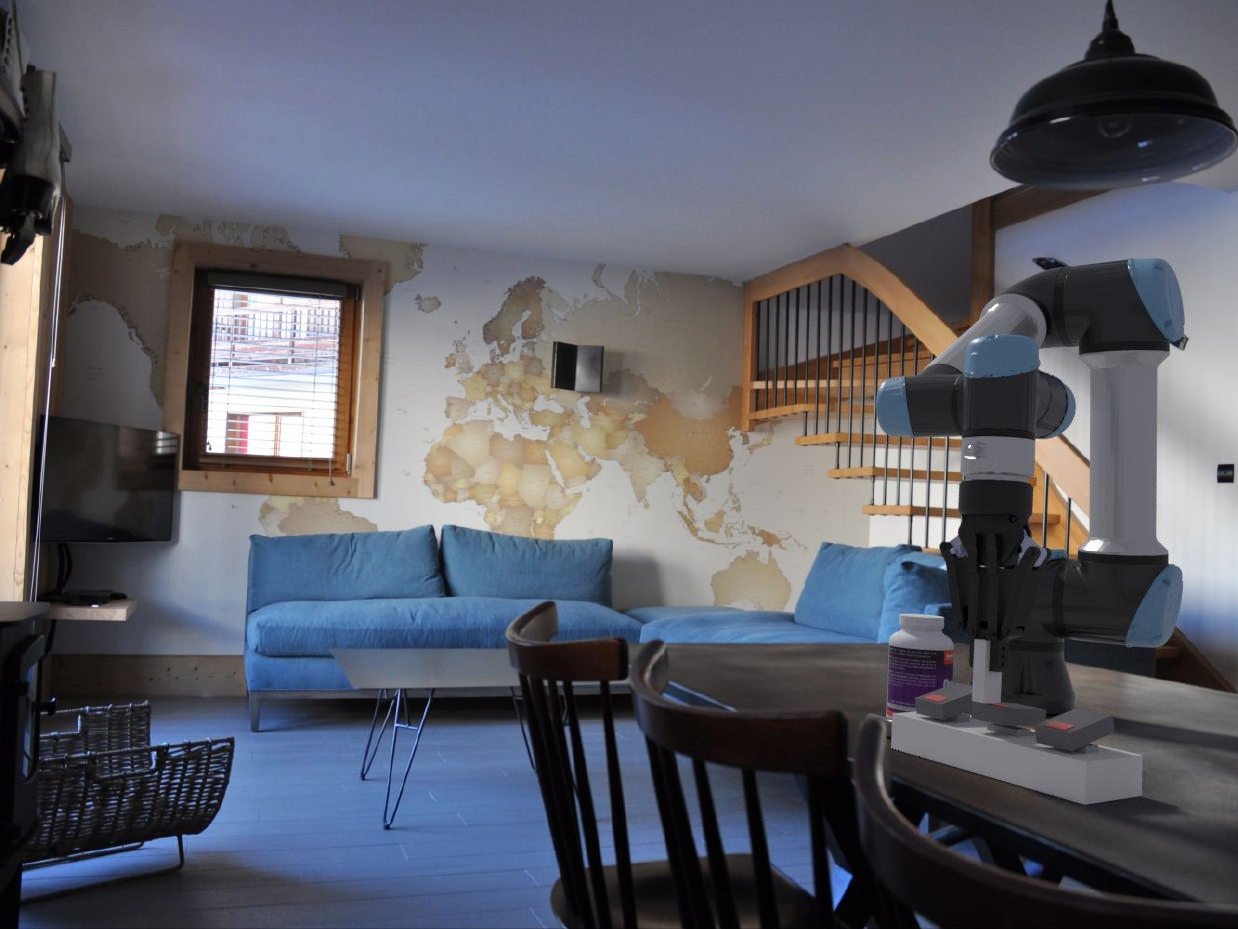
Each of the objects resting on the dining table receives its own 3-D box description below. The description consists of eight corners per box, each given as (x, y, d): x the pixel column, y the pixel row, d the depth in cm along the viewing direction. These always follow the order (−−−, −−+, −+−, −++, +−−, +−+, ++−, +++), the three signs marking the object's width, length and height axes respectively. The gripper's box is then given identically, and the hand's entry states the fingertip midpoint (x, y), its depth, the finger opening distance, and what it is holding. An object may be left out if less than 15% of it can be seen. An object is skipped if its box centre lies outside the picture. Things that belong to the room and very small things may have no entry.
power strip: (895, 729, 133) (897, 692, 133) (1141, 795, 105) (1142, 748, 105) (842, 734, 128) (844, 695, 129) (1084, 804, 100) (1086, 754, 100)
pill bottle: (954, 738, 130) (958, 620, 130) (887, 732, 131) (891, 616, 132) (947, 726, 138) (951, 615, 138) (884, 720, 139) (888, 611, 140)
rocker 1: (958, 697, 124) (956, 682, 124) (985, 703, 120) (984, 687, 120) (916, 713, 120) (914, 697, 120) (943, 720, 117) (942, 703, 117)
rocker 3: (1079, 724, 110) (1077, 706, 110) (1114, 732, 107) (1112, 714, 107) (1036, 742, 107) (1034, 724, 106) (1071, 751, 103) (1069, 732, 103)
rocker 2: (1013, 719, 117) (1015, 702, 117) (1044, 726, 113) (1046, 709, 114) (971, 718, 113) (972, 700, 113) (1001, 725, 110) (1003, 707, 110)
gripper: (925, 477, 117) (914, 692, 115) (1024, 476, 106) (1014, 714, 104) (971, 483, 121) (961, 691, 119) (1072, 482, 109) (1062, 712, 108)
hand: (986, 701), depth 112 cm, fingers closed
